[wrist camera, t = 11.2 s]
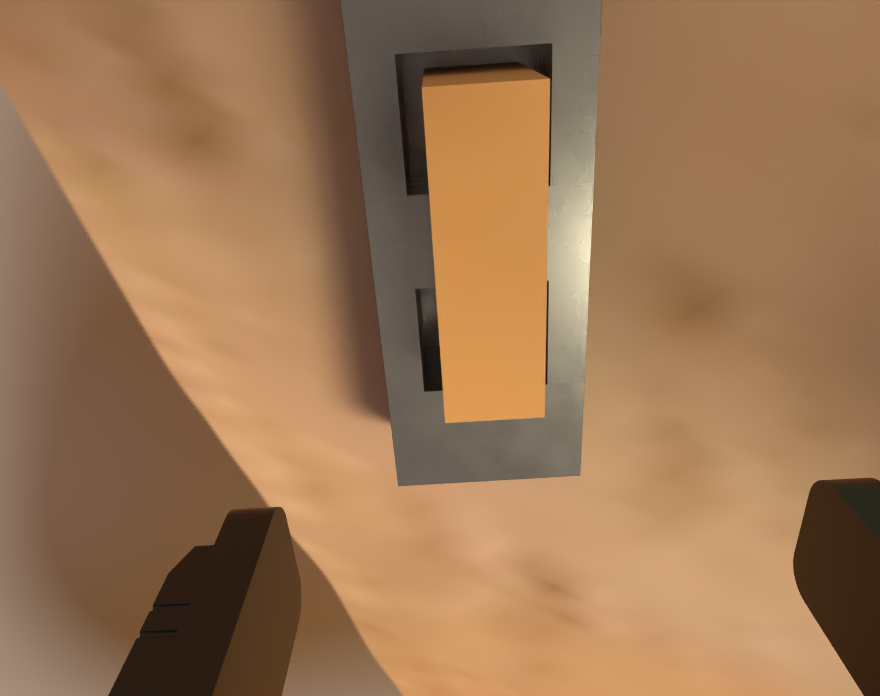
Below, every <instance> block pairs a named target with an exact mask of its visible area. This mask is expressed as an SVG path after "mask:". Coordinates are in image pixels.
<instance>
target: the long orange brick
mask: <svg viewBox="0 0 880 696" xmlns="http://www.w3.org/2000/svg"><path fill="white" fill-rule="evenodd" d="M422 99H423V113H424V128H425V142H426V156H427V171H428V185H429V199H430V214H431V228H432V242H433V257H434V271H435V285H436V300H437V314H438V328H439V342H440V357H441V371H442V385H443V400H444V414H445V423H457V422H474V421H491V420H508V419H525V418H543V417H545V371H546V308H547V245H548V182H549V119H550V78H548V77H546V76H544V75H542V74H540V73H538V72H536V71H534V70H532V69H530V68H528V67H526V66H524V65H522V64H520V63H518V62H510V63H495V64H480V65H466V66H451V67H436V68H424V75H423V82H422Z"/></svg>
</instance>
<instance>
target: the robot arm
mask: <svg viewBox="0 0 880 696" xmlns="http://www.w3.org/2000/svg"><path fill="white" fill-rule="evenodd" d="M793 569H794V575H795V580H796V584H797V587H798V590H799V592H800V594H801V596H802V598H803V600H804V602H805V603H806V605H807V606H808V608H809V610H810V611H811V613H812V614H813V616H814V618H815V619H816V621H817V622H818V624H819V625H820V627H821V629H822V630H823V632H824V633H825V635H826V636H827V638H828V640H829V641H830V643H831V644H832V646H833V648H834V649H835V651H836V652H837V654H838V655H839V657H840V659H841V660H842V662H843V663H844V665H845V667H846V668H847V670H848V671H849V673H850V674H851V676H852V678H853V679H854V681H855V682H856V684H857V685H858V687H859V689H860V690H861V692H862V693H863V695H864V696H880V481H878V480H877V479H874V478H856V479H837V480H820V481H817V482H815V483H814V484H813V486H812V487H811V490H810V493H809V496H808V500H807V504H806V508H805V512H804V516H803V520H802V524H801V528H800V532H799V536H798V540H797V544H796V548H795V552H794V558H793ZM300 611H301V583H300V576H299V572H298V567H297V563H296V559H295V554H294V550H293V546H292V541H291V536H290V532H289V527H288V523H287V519H286V515H285V512H284V510H283V509H282V508H281V507H269V508H250V509H233V510H231V511H230V512H229V513H228V515H227V517H226V519H225V521H224V523H223V525H222V528H221V530H220V532H219V535H218V537H217V539H216V542H215V544H214V545H210V546H195V547H194V548H193V549H192V550H191V551H190V552H189V553H188V554H187V555H186V556H185V557H184V558H183V559H182V560H181V561H180V562H179V563H178V565H176V566H175V567H174V568H173V569H172V570H171V571H170V573H169V574H168V575H167V577H166V580H165V582H164V584H163V586H162V588H161V590H160V592H159V594H158V596H157V598H156V600H155V602H154V604H153V611H150V612H149V614H148V616H147V618H146V620H145V622H144V624H143V627H142V628H141V630H140V637H139V638H138V639H136V641H135V643H134V645H133V647H132V649H131V651H130V653H129V655H128V657H127V659H126V661H125V663H124V665H123V667H122V669H121V671H120V673H119V675H118V677H117V679H116V681H115V683H114V685H113V687H112V689H111V691H110V694H109V695H108V696H282V692H283V687H284V683H285V678H286V675H287V670H288V666H289V662H290V657H291V653H292V649H293V645H294V640H295V636H296V632H297V627H298V623H299V618H300Z"/></svg>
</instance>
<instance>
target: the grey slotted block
mask: <svg viewBox="0 0 880 696" xmlns="http://www.w3.org/2000/svg"><path fill="white" fill-rule="evenodd" d="M341 8H342V17H343V25H344V34H345V42H346V51H347V59H348V67H349V76H350V84H351V93H352V101H353V109H354V118H355V126H356V135H357V143H358V152H359V160H360V168H361V177H362V185H363V194H364V202H365V210H366V219H367V227H368V236H369V244H370V252H371V261H372V269H373V278H374V286H375V295H376V303H377V311H378V320H379V328H380V337H381V345H382V353H383V362H384V370H385V379H386V387H387V396H388V404H389V412H390V421H391V429H392V438H393V446H394V454H395V463H396V471H397V480H398V486H409V485H426V484H444V483H461V482H478V481H495V480H513V479H530V478H547V477H565V476H580V469H581V447H582V425H583V404H584V382H585V360H586V339H587V317H588V296H589V274H590V252H591V231H592V209H593V188H594V166H595V144H596V123H597V101H598V80H599V58H600V36H601V15H602V0H341ZM510 62H518V63H520V64H522V65H524V66H526V67H528V68H530V69H532V70H534V71H536V72H538V73H540V74H542V75H544V76H546V77H548V78H550V119H549V182H548V245H547V308H546V371H545V417H543V418H525V419H508V420H491V421H474V422H457V423H445V414H444V400H443V385H442V371H441V357H440V342H439V328H438V314H437V300H436V285H435V271H434V257H433V242H432V228H431V214H430V199H429V185H428V171H427V156H426V142H425V128H424V113H423V99H422V82H423V75H424V68H436V67H451V66H466V65H480V64H495V63H510Z"/></svg>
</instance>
